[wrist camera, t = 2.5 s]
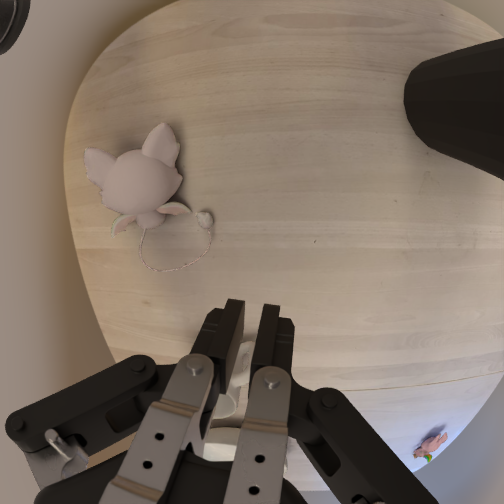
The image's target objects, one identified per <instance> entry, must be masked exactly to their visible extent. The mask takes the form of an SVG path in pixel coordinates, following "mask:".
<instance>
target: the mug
mask: <svg viewBox="0 0 504 504" xmlns="http://www.w3.org/2000/svg"><path fill="white" fill-rule="evenodd" d="M254 347H255V342H253V341H247V342H244V343H242V344H240V348H239V351H238V355H237V358H236V362H235V365H234V369H233V372H232V376H231V379H230V383H229V386H228V390H227V393H226V395H223V394H219V397H218V401H217V404H216V410H215V413H214V416H213V419H222V418H227V417H229V416H231V415H233V414H234V413H235V411H236V409H237V407H238V402H239V396H240V389H241V386H242V385H246V384H248V383H249V379H250V367H251V360H252V356H253V351H254ZM247 352H249V355H248V365H247V367H246V369H245V370H244V371H243V355H244V354H245V353H247ZM189 354H190V353H189ZM189 354H188V355H189Z"/></svg>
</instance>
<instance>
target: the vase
mask: <svg viewBox="0 0 504 504" xmlns="http://www.w3.org/2000/svg"><path fill="white" fill-rule="evenodd" d="M404 105H405V109H406V114H407V118H408V121H409V122H410V124H411V126H412V128H413V130H414V131H415V133H416V135H417V136H418V137H419V138H420V139H421V140H422V141H423V142H424V143H425V144H426V145H427V146H428V147H430V148H432V149H434V150H436V151H438V152H440V153H442V154H445V155H448V156H450V157H453V158H455V159H458V160H460V161H462V162H465V163H467V164H470V165H472V166H474V167H476V168H479V169H481V170H483V171H485V172H487V173H490V174H492V175H494V176H496V177H498V178H500V179H502V180H504V38H502V39H498V40H494V41H490V42H486V43H482V44H478V45H474V46H471V47H467V48H464V49H461V50H457V51H454V52H451V53H448V54H445V55H442V56H439V57H436V58H433V59H430V60H427V61H424V62H422V63H421V64H419V65H418V66H417V67H416V68H415V69H414V70H412V71H411V73H410V76H409V78H408V80H407V82H406V84H405V93H404Z"/></svg>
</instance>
